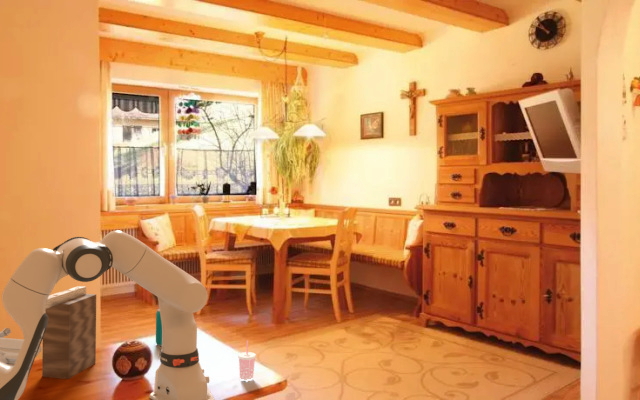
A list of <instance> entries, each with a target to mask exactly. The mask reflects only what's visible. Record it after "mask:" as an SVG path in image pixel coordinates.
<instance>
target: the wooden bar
mask: <svg viewBox="0 0 640 400" xmlns="http://www.w3.org/2000/svg"><path fill="white" fill-rule="evenodd" d="M86 294H87V286H85V285H78V286H74V287H71V288H69V289H65V290H61V291H59V292H55V293H53V294H50V295H49V297H48V299H47V302H46V307H45V309H47V308H50V307H52V306H55V305H58V304H61V303H64V302H66V301H69V300H72V299H75V298H78V297H80V296H83V295H86Z"/></svg>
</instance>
